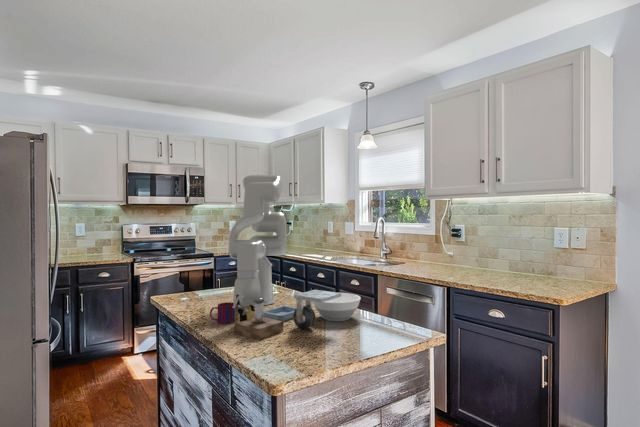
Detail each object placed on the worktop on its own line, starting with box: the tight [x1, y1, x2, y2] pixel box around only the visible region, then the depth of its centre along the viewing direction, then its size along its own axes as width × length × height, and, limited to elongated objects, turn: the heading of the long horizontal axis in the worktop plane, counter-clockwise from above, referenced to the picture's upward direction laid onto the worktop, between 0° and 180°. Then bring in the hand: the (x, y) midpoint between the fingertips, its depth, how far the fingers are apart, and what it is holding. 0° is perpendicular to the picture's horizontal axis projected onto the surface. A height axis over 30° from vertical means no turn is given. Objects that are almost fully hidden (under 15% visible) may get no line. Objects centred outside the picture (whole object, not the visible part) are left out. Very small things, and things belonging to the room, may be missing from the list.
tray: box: [263, 304, 296, 323], centre depth 165 cm, size 14×11×2 cm
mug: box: [209, 301, 236, 325], centre depth 157 cm, size 7×10×7 cm
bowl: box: [312, 292, 362, 322], centre depth 162 cm, size 20×20×8 cm
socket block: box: [234, 317, 284, 340], centre depth 143 cm, size 12×12×4 cm
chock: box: [237, 309, 255, 323], centre depth 153 cm, size 4×6×5 cm, turn 53°
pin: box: [254, 297, 264, 325], centre depth 143 cm, size 4×4×12 cm
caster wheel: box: [292, 289, 342, 331], centre depth 146 cm, size 12×16×13 cm
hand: (247, 322), depth 153 cm, fingers closed on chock, 3 cm apart
